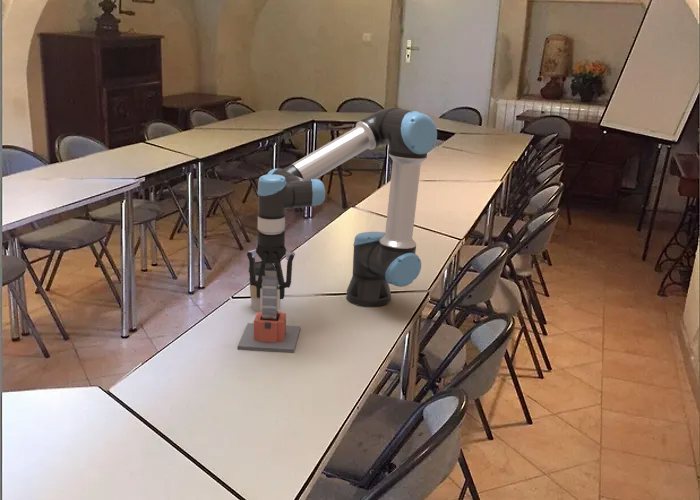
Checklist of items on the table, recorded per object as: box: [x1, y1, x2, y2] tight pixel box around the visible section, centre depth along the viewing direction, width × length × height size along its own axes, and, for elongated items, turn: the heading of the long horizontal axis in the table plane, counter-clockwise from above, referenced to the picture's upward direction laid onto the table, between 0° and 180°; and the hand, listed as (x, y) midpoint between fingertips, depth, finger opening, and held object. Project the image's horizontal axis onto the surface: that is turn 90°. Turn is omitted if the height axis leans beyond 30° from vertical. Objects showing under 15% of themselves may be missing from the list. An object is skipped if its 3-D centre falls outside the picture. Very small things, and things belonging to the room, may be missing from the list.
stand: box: [237, 311, 301, 354], centre depth 208 cm, size 16×16×7 cm
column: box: [261, 271, 279, 321], centre depth 205 cm, size 4×4×19 cm
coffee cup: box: [248, 260, 276, 312], centre depth 229 cm, size 9×9×15 cm
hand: (270, 308), depth 206 cm, fingers closed on column, 4 cm apart
